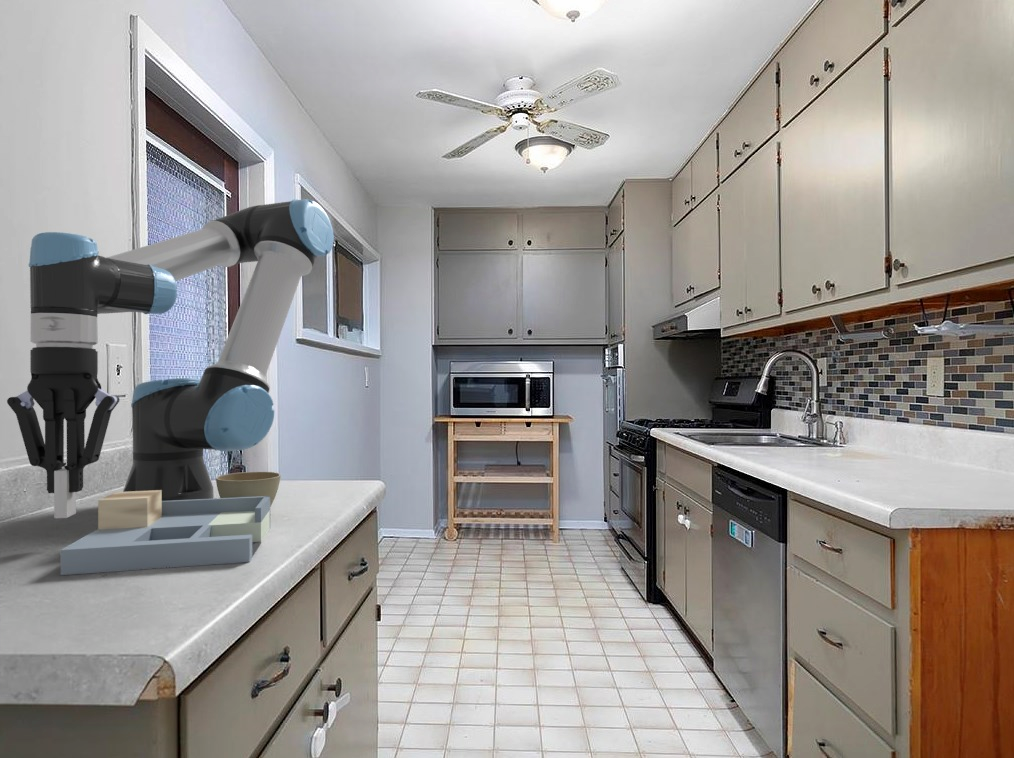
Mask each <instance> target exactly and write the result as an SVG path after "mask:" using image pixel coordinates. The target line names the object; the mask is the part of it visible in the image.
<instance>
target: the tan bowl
mask: <svg viewBox="0 0 1014 758" xmlns="http://www.w3.org/2000/svg"><path fill="white" fill-rule="evenodd" d="M281 476H282V475H281V473H279V472H275V471H246V472H245V471H243V472H233V473H226V474H220V475H219V476H218V475H217V476H216V477H215V482H216V488H217V492H218V495H219V498H236V497H257V496H270V508H271V507H272V505H273V503H274V501H275V499H276V496H277V493H278V491H279V486H280V483H281V482H280V481H281Z"/></svg>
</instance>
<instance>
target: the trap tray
mask: <svg viewBox="0 0 1014 758" xmlns="http://www.w3.org/2000/svg"><path fill="white" fill-rule="evenodd" d="M270 529H271V507H270V496H257V497H236V498H220V497H218V498H217V497H216V498H215V497H213V499H192V500H171V501H162V517H161V518H160V519H158V520H157V521H155V522H154V523H152V524H151V525H150V526H148V527H136V528H118V529H100V530H98V528H97V529H95V530H94V531H92V532H90V533H88V534H86V535H84V536H83V537H81V538H79V539H78V540H76V541H74V542H73V543H70V544H69V545H66V547H64V548H61V549H60V576H68V575H80V574H84V575H85V574H95V573H96V574H97V573H98V574H99V573H110V572H111V573H112V572H125V571H127V572H128V571H137V570H139V571H140V569H142V570H150V569H151V570H153V569H152V568H156V569H167V568H169V567H170V568H181V567H183V568H184V567H195V566H198V567H199V566H208V565H209V566H211V565H224V564H226V565H227V564H238V563H250V562H251V561H252V558H253V557H254V555H255V554H256V552H257V550H258V549H259V548H260V545H261V544H262V542H263V541H264V539H265V537H266V536H267V534H268V532H269V531H270ZM166 567H167V568H166Z"/></svg>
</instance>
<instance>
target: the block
mask: <svg viewBox="0 0 1014 758" xmlns="http://www.w3.org/2000/svg"><path fill="white" fill-rule="evenodd" d="M97 501H98V502H97V525H98V527H97V529H98V530H100V529H118V528H136V527H148V526H150V525H151V524H152V523H154V522H155V521H157V520H158V519H160V518H161V517H162V490H152V491H128V492H123V491H115V492H113V493H111V494H108V495H106V496H104V497H102V498H99V499H98V500H97Z"/></svg>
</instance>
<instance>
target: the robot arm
mask: <svg viewBox="0 0 1014 758" xmlns="http://www.w3.org/2000/svg"><path fill="white" fill-rule="evenodd" d="M333 229H334V228H333V226H332V223H331V220H330V217H329V216H328V214H327V212H326V211H325V210H324V208H323V207H322V206H321V204H319V203H317V202H316V201H314V200H311V199H298V198H295V199H292V200H290V201H282V202H274V203H268V204H259V205H253V206H248V207H246V208H242V209H240V210H238V211H235V212H232V213H230V214H227V215H225V216H222V217H219V218H216V219H214V220H211V221H207V222H206V223H205V224H203V226H202V228H201V229H198V230H195V231H192V232H188V233H185V234H182V235H179V236H174V237H172V238H169V239H165V240H162V241H159V242H155V243H152V244H148V245H145V246H141V247H137V248H134V249H131V250H128V251H125V252H121V253H118V254H115V255H111V256H108V257H107V256H106V257H105V256H102V255H100V254H99V253H100V252H99V250H98V244H97V242H96V240H94V239H93V238H90V237H88V236H84V235H82V234H76V233H71V232H57V231H47V232H41V233H37V234H35V235H34V236H33V237H32V239H31V245H30V251H29V252H30V253H29V263H28V267H29V285H30V286H29V290H30V291H29V294H30V297H29V298H30V342H31V343H32V344H35V347H32V348H31V349H30V355H29V356H30V359H29V360H30V363H29V364H30V366H29V367H30V369H29V370H30V371H29V372H30V374H31V375H30V376H31V378H30V382H29V383H28V384H27V387H26V388H27V389H26V390H25V391H24V392H22V393H20V394H18V395H17V396H10V397H8V398H7V399H6V402H7V405H8V406H9V408H10V409H11V410H12V411H13V413H14V414H15V416H16V419H17V423H18V426H19V430H20V434H21V437H22V441H23V443H24V447H25V451H26V454H27V458H28V461H29V464H30V465H31V466H33V467H40V468H43V469H44V470H45V471H46V491H47V492H48V494H53V503H54V507H53V508H54V509H53V510H54V511H53V512H54V515H53V519H67V518H69V517H72V516H74V515H77V493H78V492H81V491H82V490H83V488H84V468H85V467H86V466H88V465H91V464H94V463H95V462H96V463H97V462H98V461H99V459H100V456H101V452H102V448H103V445H104V441H105V438H106V434H107V431H108V426H109V423H110V418H111V414H112V412H113V410H114V409H115V408H116V407H117V405H118V403H120V397H119V396H117V395H111V394H110V393H108V392H106V391H104V390H103V389H102V385H101V383H100V381H99V379H98V372H99V371H98V370H99V367H98V364H99V361H98V355H99V354H98V353H99V351H97V349H96V348H93V347H94V346H95V345H97V344H98V343H99V341H98V334H99V333H98V315H100V314H118V313H120V314H121V313H122V314H123V313H142V314H144V315H150V314H152V315H162V314H165V313H168V312H169V311H170V310H171V309H172V308H173V307H174V305H175V303H176V301H177V298H178V285H177V284H178V283H177V281H180V280H183V279H185V278H189V277H191V276H194V275H196V274H199V273H201V272H204V271H207V270H210V269H212V268H216V267H219V266H220V267H223V268H230V267H233V266H235V265H238V264H244V263H252V262H253V263H254V262H255V263H256V262H257V263H256V265H255V267H254V270H253V273H252V275H251V278H250V281H249V282H248V285H247V288H246V291H245V293H244V295H243V297H242V300H241V303H240V306H239V308H238V310H237V313H236V315H235V318H234V321H233V323H232V326H231V328H230V330H229V332H228V333H229V334H228V336H227V338H226V341H225V343H224V346H223V349H222V351H221V353H220V356H219V358H218V361H217V363H215V364H214V363H213V364H212V365H209V366H207V367H205V368H204V371H203V374H202V376H201V378H195V377H184V378H183V377H182V378H181V377H180V378H168V379H167V378H166V379H156V380H150V381H144V382H141V383H139V384H137V385H136V386H135V387H134V389H133V391H132V402H131V406H130V407H131V414H132V415H131V416H132V418H131V420H132V421H131V422H132V423H131V424H132V466H131V469H130V471H129V473H128V477H127V480H126V482H125V486H124V488H123V490H122V492H128V491H152V490H162V501H171V500H192V499H214V485H213V482H212V480H211V477H210V474H209V472H208V469H207V466H206V464H205V461H204V450H211V451H212V450H213V451H221V452H233V451H245V450H249V449H251V448H253V447H255V446H256V445H258V444H260V443H261V442H262V441H263V440H264V439H265V438H266V436H267V435H268V434H269V432H270V430H271V428H272V426H273V423H274V418H275V409H274V408H273V406H274V400H273V399H272V396H271V395H270V389H271V387H270V385H269V383H268V382H267V380H266V376H267V373H268V370H269V367H270V365H271V361H272V358H273V357H274V353H275V351H276V348H277V345H278V342H279V339H280V336H281V334H282V331H283V328H284V326H285V323H286V319H287V317H288V313H289V311H290V308H291V305H292V303H293V300H294V298H295V297H294V296H295V294H296V291H297V288H298V286H299V283H300V280H301V277H304V276H307V275H309V274H310V273H311V272H312V269H313V267H314V265H315V261H316V259H317V257H318V258H322V257H325V256H326V255H328V254H330V253H331V251H332V250H333V246H334V241H335V237H334V230H333ZM94 400H95V402H94ZM35 402H36V403H37V405H38V406H39V407H40V408H41V409H42V419H43V420H44V438H43V433H42V430H41V429H42V428H41V425H40V423H39V419H38V416H37V412H36V410H35V408H34V406H35V404H36V403H35ZM93 402H94V404H95V406H96V409H94V414H93V417H92V421H91V424H90V427H89V431H88V436H87V439H85V432H86V431H85V419H86V417H87V409H88V408H89V406H90V405H91V404H92V403H93ZM65 421H66V462H65V461H64V459H65V457H64V456H65V455H64V454H65V452H64V451H65V448H64V446H65V442H64V439H65V438H64V437H65V435H64V433H65V431H64V430H65V428H64V425H65ZM85 441H86V442H85Z"/></svg>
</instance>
